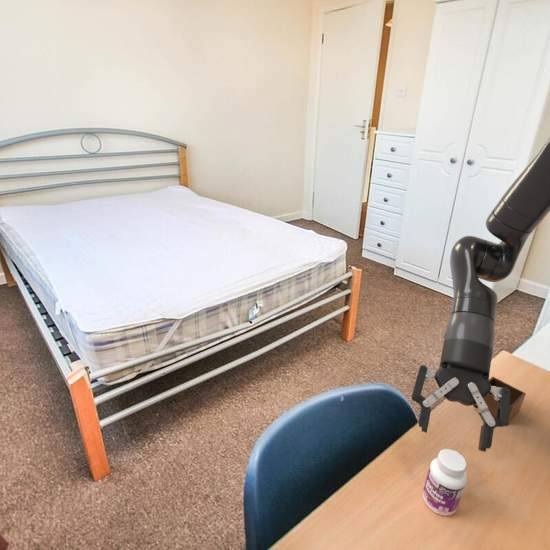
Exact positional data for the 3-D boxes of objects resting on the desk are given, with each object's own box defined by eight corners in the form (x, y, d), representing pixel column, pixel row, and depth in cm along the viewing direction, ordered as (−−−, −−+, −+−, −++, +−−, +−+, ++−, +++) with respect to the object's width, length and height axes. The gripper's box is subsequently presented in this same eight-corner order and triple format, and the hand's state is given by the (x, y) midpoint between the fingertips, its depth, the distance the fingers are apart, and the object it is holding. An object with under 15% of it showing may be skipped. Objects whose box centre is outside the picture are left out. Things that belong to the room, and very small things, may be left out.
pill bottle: (416, 501, 62) (427, 459, 58) (429, 480, 65) (441, 439, 62) (450, 524, 59) (464, 481, 55) (461, 501, 62) (476, 458, 58)
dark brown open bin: (487, 392, 86) (492, 376, 85) (519, 410, 82) (526, 393, 80) (473, 405, 82) (478, 388, 81) (505, 424, 78) (512, 407, 76)
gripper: (426, 328, 65) (407, 425, 60) (522, 350, 60) (509, 458, 55) (422, 338, 71) (405, 427, 66) (508, 359, 66) (496, 456, 61)
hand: (452, 441), depth 61 cm, fingers open, 8 cm apart
